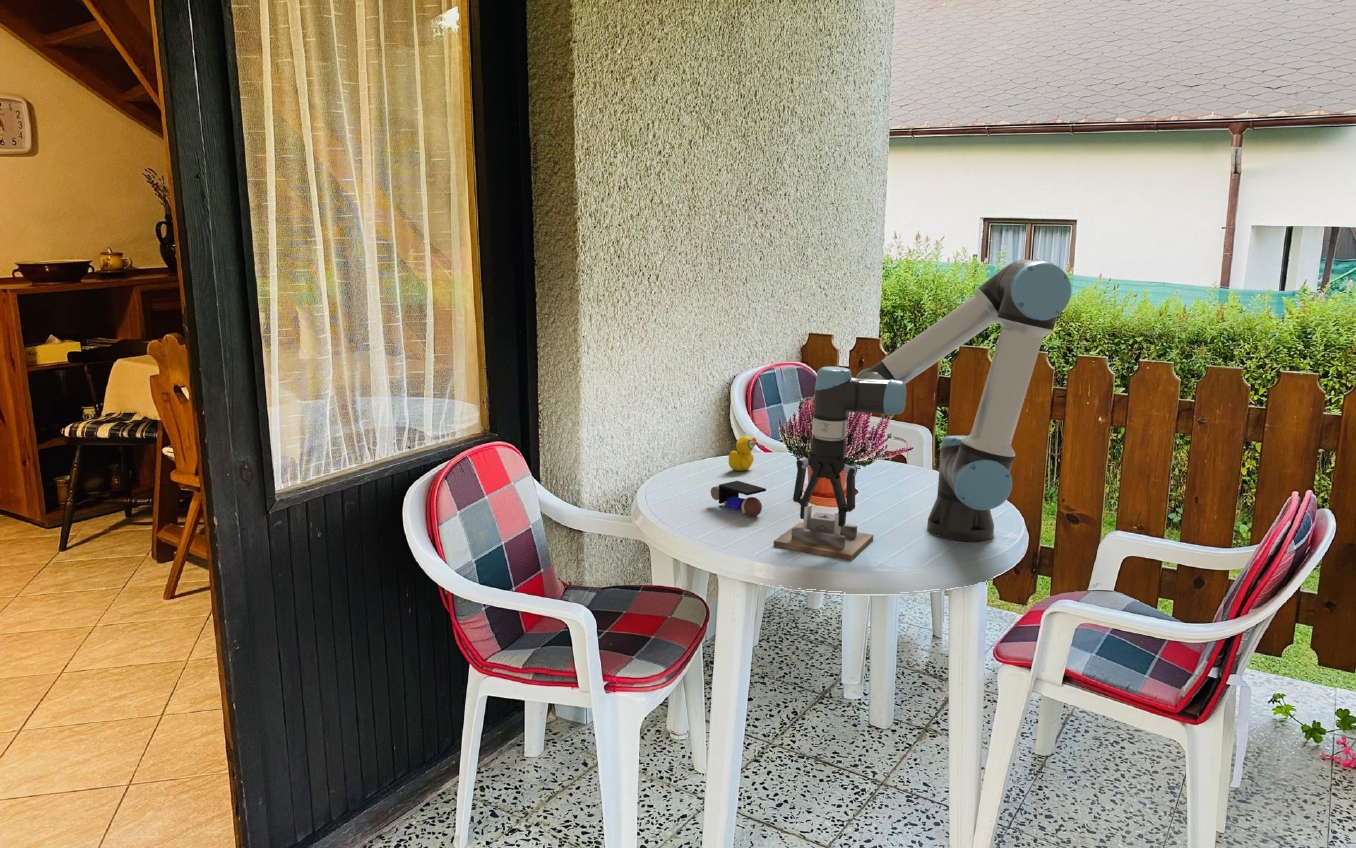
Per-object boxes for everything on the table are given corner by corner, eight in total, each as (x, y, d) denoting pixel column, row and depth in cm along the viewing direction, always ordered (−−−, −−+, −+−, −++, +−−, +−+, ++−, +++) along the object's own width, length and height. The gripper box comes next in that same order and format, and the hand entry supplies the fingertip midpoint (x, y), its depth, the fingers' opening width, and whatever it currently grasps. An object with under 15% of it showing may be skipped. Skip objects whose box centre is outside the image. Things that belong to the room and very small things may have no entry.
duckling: (746, 465, 281) (748, 432, 279) (761, 468, 278) (762, 435, 276) (723, 471, 273) (724, 438, 271) (737, 475, 270) (738, 441, 267)
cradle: (873, 539, 215) (874, 524, 214) (851, 560, 201) (852, 544, 200) (799, 527, 223) (800, 512, 223) (773, 546, 209) (774, 530, 209)
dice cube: (810, 539, 211) (811, 518, 210) (815, 533, 215) (816, 512, 214) (832, 542, 209) (833, 521, 208) (836, 536, 213) (837, 514, 212)
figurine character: (709, 512, 239) (747, 520, 227) (707, 482, 238) (746, 489, 226) (729, 507, 243) (769, 516, 231) (728, 478, 242) (767, 485, 230)
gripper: (781, 433, 209) (775, 532, 213) (866, 446, 200) (857, 549, 205) (793, 428, 215) (787, 523, 220) (876, 440, 206) (868, 539, 211)
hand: (821, 536), depth 212 cm, fingers open, 6 cm apart
